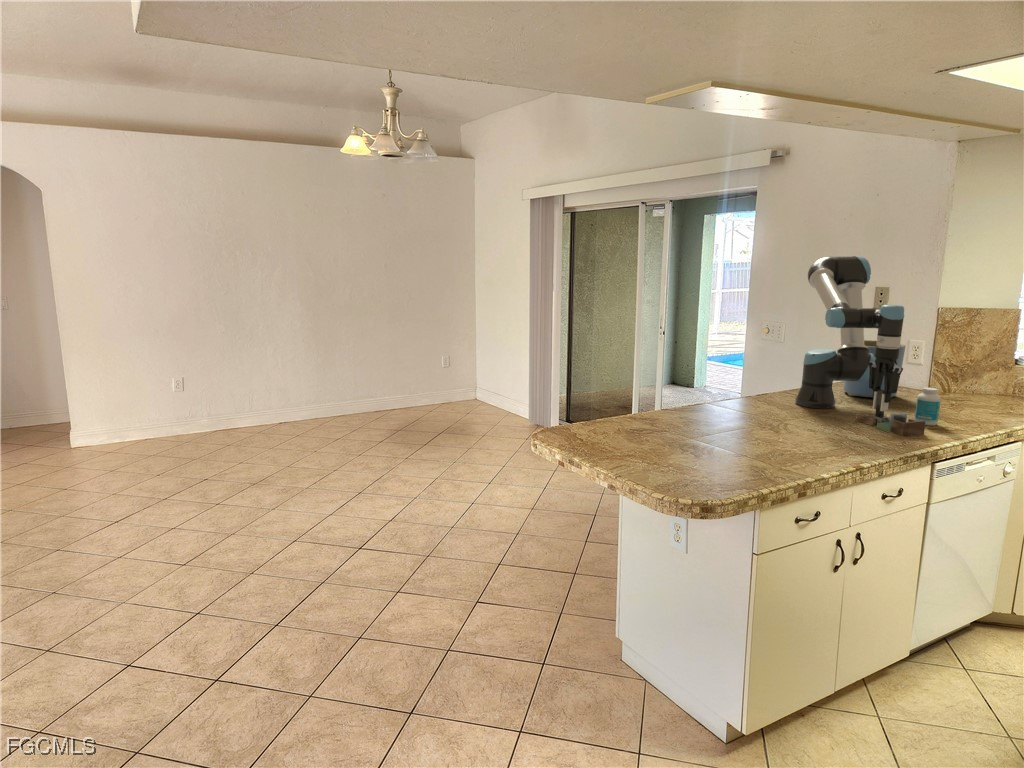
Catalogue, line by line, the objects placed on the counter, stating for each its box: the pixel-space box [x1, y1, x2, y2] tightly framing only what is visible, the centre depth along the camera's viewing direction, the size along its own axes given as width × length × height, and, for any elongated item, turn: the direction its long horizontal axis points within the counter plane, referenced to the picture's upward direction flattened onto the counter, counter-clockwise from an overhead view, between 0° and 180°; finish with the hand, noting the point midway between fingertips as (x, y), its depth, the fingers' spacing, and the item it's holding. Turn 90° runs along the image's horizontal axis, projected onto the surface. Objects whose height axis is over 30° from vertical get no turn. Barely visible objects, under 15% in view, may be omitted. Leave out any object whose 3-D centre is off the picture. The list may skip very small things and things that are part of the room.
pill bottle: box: [914, 387, 942, 426], centre depth 234 cm, size 8×7×14 cm
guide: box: [855, 412, 876, 426], centre depth 237 cm, size 8×7×2 cm
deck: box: [876, 422, 892, 433], centre depth 228 cm, size 6×10×2 cm, turn 105°
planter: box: [843, 339, 906, 399], centre depth 280 cm, size 23×23×24 cm
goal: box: [890, 418, 926, 437], centre depth 222 cm, size 6×8×5 cm
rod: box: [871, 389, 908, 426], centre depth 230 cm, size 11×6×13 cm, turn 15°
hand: (880, 409), depth 233 cm, fingers closed on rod, 3 cm apart
